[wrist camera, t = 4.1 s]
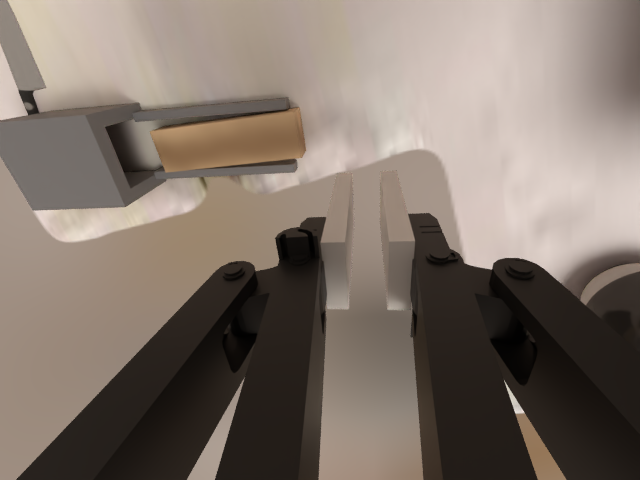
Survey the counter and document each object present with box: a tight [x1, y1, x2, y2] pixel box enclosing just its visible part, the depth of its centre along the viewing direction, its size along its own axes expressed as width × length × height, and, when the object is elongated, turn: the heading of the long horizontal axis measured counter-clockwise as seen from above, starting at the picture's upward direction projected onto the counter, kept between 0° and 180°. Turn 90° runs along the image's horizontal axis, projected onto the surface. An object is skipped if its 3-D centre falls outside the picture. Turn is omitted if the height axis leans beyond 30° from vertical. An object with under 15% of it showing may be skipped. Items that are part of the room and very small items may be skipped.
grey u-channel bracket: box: [0, 98, 298, 210], centre depth 30 cm, size 8×25×7 cm, turn 95°
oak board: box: [150, 107, 306, 173], centre depth 31 cm, size 4×14×3 cm, turn 98°
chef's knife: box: [0, 0, 46, 115], centre depth 30 cm, size 19×1×3 cm
